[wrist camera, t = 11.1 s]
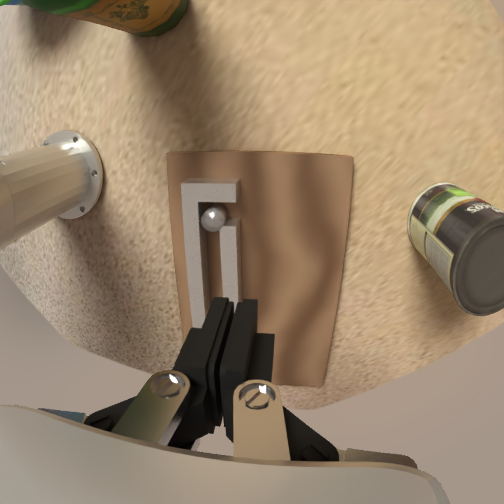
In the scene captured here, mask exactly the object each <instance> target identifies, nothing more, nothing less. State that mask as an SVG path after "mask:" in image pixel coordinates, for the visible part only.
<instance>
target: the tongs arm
mask: <svg viewBox="0 0 504 504" xmlns="http://www.w3.org/2000/svg"><path fill="white" fill-rule="evenodd" d="M227 217H228V209H227V207H226V206H225V205H224V204H222V203H214V204H212V205H211V206H210V207H209V208H208V209H207V211H206V212H205V213H204V214H203V216H202V218H201V223H202V225H203V227H204V228H205V229H206V230H208V231H210V232H216V231H218V230H219V231H220V251H221V270H222V287H223V297H228V298H229V301H233V302H234V313H235V309H236V306H237V302H242V282H241V244H240V218H227Z"/></svg>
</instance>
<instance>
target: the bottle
mask: <svg viewBox="0 0 504 504" xmlns="http://www.w3.org/2000/svg"><path fill="white" fill-rule="evenodd" d="M23 3H24V4H25V5H27V6H30V7H32V8H35V9H37V10H39V11H42V12H48V13H53V14H58V15H63V16H67V17H72V18H76V19H81V20H85V21H89V22H93V23H97V24H100V25H104V26H108V27H111V28H115V29H118V30H122V31H125V32H128V33H131V34H135V35H138V36H141V37H148V36H159V35H161V34H163V33H164V32H166V31H168V30H170V29H172V28H173V27H175V26H176V25H177V24H178V22H179V21H180V20H181V18H182V17H183V16H184V14H185V13H186V11H187V5H188V0H23Z"/></svg>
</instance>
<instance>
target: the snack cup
mask: <svg viewBox="0 0 504 504" xmlns="http://www.w3.org/2000/svg"><path fill="white" fill-rule="evenodd" d="M2 5H25V4H24V3H23V0H0V6H2Z"/></svg>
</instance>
